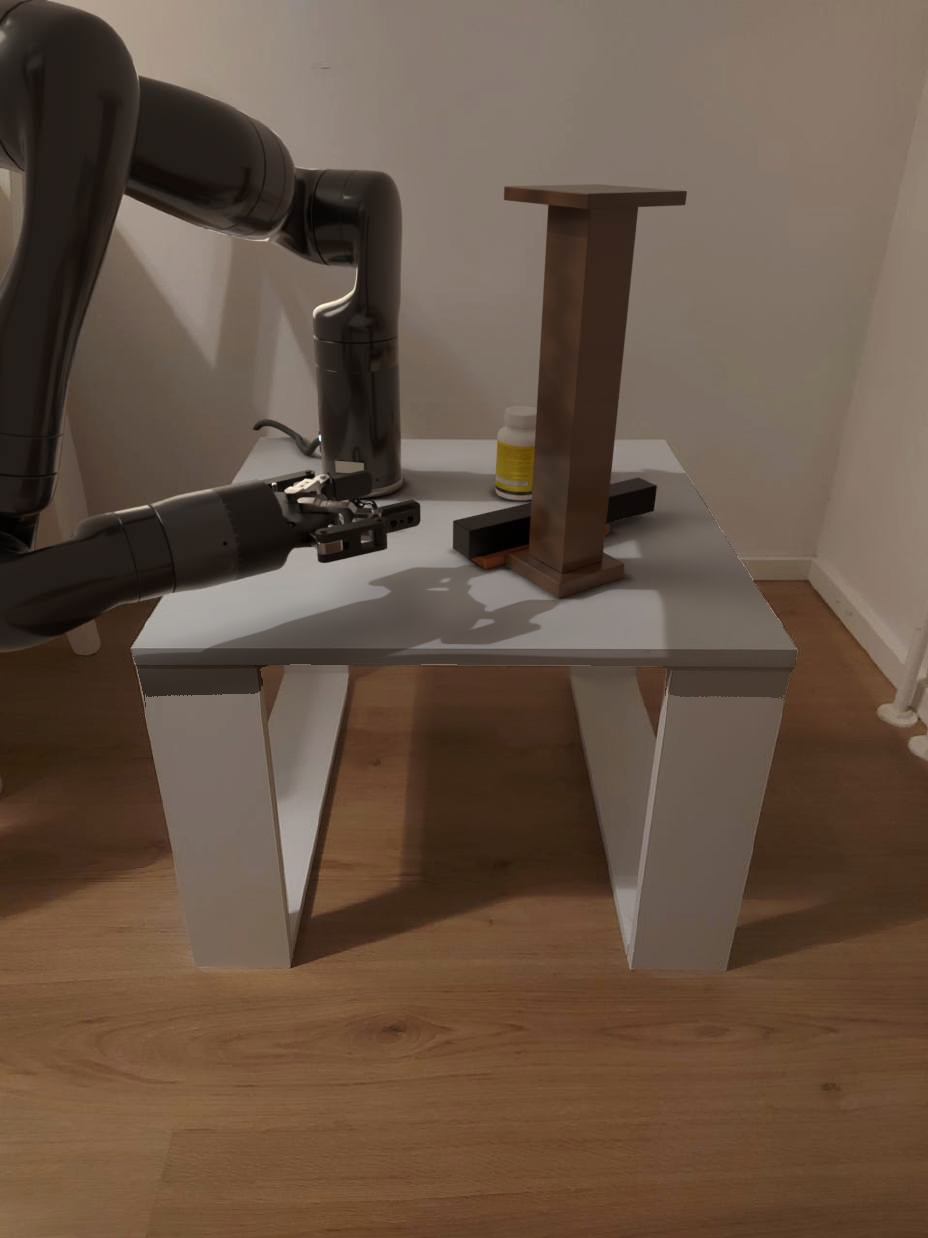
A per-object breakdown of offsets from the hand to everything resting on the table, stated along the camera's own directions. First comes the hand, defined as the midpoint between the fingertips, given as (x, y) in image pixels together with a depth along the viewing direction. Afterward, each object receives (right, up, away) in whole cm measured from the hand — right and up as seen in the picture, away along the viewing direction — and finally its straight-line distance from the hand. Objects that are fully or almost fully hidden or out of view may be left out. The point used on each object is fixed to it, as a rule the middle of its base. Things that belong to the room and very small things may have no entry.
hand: (393, 496), depth 77 cm
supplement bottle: (+13, +4, +25) cm, 28 cm away
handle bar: (+15, 0, +13) cm, 20 cm away
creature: (-5, -1, +16) cm, 17 cm away
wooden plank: (+14, -3, +12) cm, 19 cm away
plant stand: (+16, -6, +6) cm, 18 cm away
